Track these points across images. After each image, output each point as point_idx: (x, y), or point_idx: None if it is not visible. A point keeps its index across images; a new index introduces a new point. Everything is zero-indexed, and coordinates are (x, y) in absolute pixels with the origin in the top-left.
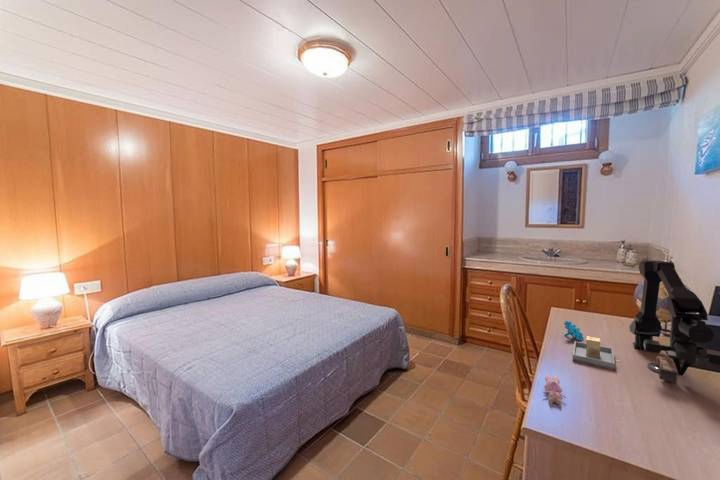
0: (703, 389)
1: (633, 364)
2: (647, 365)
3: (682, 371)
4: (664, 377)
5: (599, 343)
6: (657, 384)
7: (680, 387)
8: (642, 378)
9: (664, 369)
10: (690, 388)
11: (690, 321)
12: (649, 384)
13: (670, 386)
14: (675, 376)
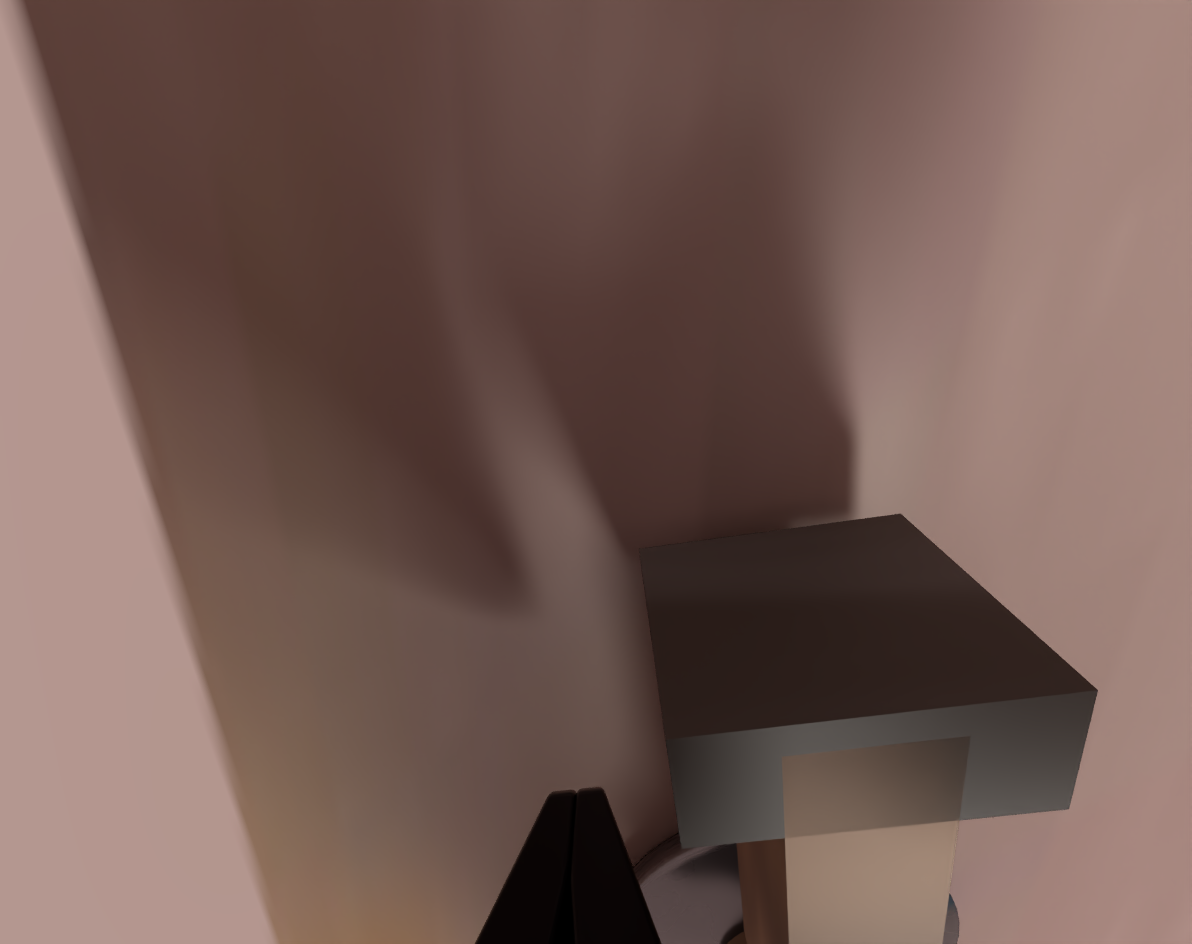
0: (305, 648)
1: (1113, 871)
2: (956, 925)
3: (542, 902)
4: (854, 558)
5: None
6: (941, 312)
7: (578, 482)
8: (1159, 418)
9: (974, 746)
10: (449, 555)
11: None
12: (1114, 172)
13: (725, 398)
14: (676, 639)
